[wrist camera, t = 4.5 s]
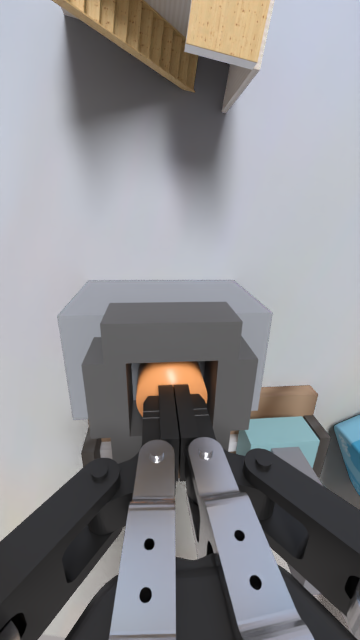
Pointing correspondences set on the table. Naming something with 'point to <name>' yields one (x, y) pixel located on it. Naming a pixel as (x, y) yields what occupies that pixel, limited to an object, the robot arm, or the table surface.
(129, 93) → the table surface
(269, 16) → the model
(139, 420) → the grey dispenser housing
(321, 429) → the rail base
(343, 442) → the data package
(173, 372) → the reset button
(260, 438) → the carriage
